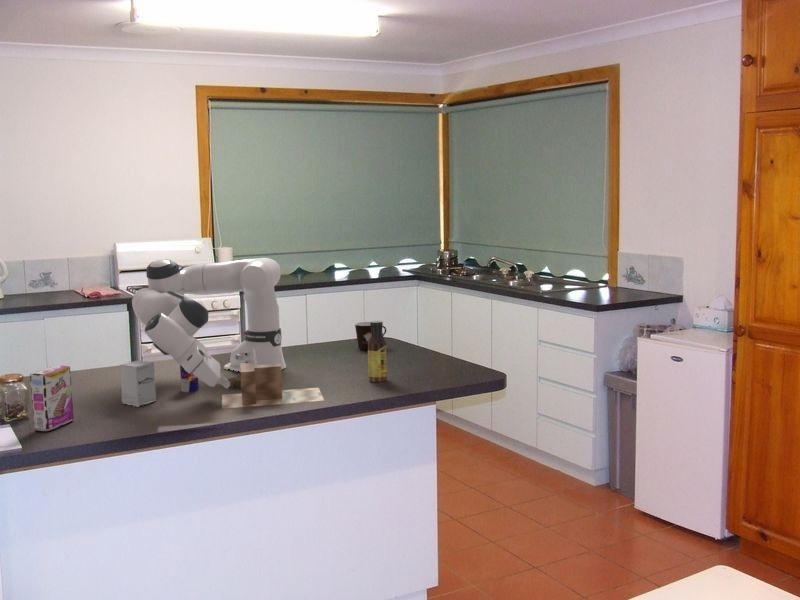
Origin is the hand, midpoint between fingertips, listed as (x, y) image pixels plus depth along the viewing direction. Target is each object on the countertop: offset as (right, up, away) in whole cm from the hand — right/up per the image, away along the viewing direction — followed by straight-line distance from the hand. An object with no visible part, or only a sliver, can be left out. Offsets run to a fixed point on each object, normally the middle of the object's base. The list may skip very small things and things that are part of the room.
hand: (228, 385), depth 256 cm
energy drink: (-15, -4, +15) cm, 22 cm away
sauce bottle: (+44, -1, +26) cm, 51 cm away
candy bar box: (-45, -10, -17) cm, 49 cm away
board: (+13, -5, +3) cm, 14 cm away
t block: (+10, -4, +3) cm, 11 cm away
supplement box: (-29, -6, +5) cm, 30 cm away
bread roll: (+1, -3, +20) cm, 21 cm away
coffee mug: (+40, +6, +76) cm, 86 cm away
